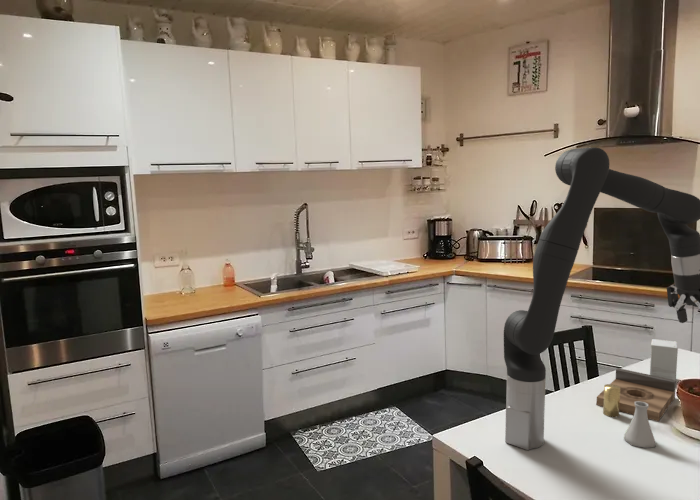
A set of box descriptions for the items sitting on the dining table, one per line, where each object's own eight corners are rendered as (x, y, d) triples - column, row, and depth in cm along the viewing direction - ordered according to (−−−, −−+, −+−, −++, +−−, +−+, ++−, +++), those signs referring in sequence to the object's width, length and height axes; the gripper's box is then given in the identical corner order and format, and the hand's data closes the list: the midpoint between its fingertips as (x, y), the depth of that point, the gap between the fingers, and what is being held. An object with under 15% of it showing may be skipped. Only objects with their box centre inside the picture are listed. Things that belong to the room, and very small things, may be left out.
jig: (658, 421, 139) (659, 402, 138) (596, 404, 150) (597, 387, 149) (674, 397, 153) (675, 380, 153) (617, 384, 164) (617, 368, 163)
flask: (660, 450, 124) (663, 411, 123) (628, 447, 126) (630, 409, 125) (649, 435, 131) (652, 398, 130) (619, 433, 133) (621, 396, 132)
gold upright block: (616, 418, 141) (617, 391, 140) (601, 414, 144) (602, 387, 143) (620, 413, 144) (622, 386, 143) (605, 409, 147) (606, 383, 146)
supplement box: (675, 378, 168) (678, 341, 166) (675, 386, 162) (678, 347, 160) (649, 374, 172) (651, 338, 170) (648, 382, 166) (650, 344, 164)
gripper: (655, 270, 140) (664, 324, 143) (704, 277, 126) (713, 337, 129) (675, 261, 142) (684, 315, 145) (726, 268, 128) (735, 327, 131)
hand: (698, 325), depth 137 cm, fingers open, 8 cm apart
